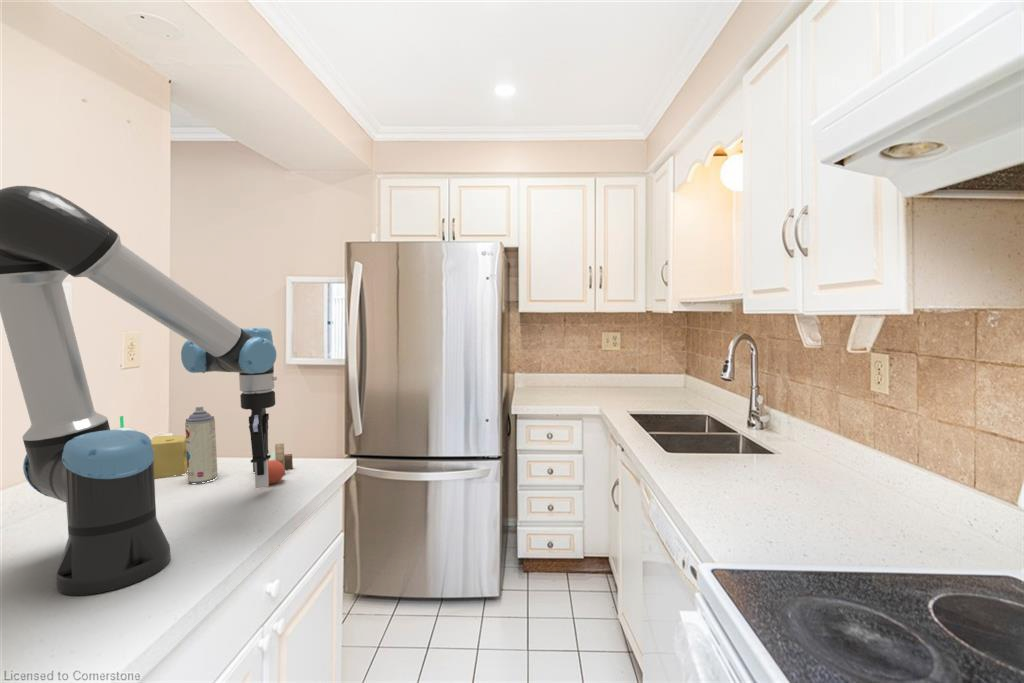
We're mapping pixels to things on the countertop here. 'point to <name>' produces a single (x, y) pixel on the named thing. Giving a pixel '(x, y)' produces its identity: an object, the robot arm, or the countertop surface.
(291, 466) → the back wall
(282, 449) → the pin
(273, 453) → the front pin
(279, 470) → the ball
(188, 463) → the aerosol can
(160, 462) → the yellow box
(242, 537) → the countertop surface
